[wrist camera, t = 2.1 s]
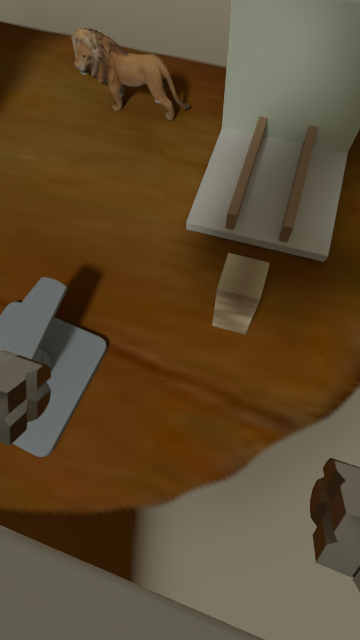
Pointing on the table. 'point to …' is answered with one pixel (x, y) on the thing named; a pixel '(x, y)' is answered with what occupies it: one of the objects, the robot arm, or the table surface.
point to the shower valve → (51, 359)
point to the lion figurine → (122, 68)
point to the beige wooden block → (239, 292)
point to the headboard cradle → (284, 126)
